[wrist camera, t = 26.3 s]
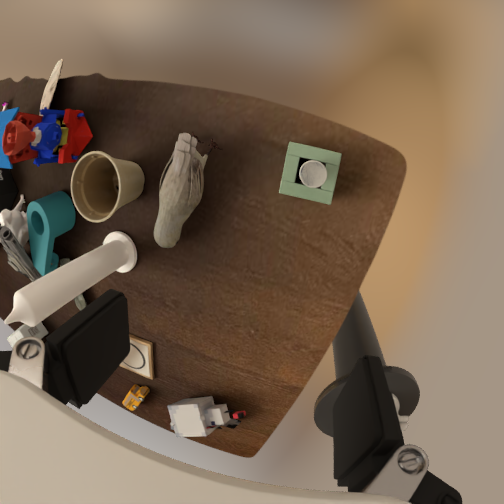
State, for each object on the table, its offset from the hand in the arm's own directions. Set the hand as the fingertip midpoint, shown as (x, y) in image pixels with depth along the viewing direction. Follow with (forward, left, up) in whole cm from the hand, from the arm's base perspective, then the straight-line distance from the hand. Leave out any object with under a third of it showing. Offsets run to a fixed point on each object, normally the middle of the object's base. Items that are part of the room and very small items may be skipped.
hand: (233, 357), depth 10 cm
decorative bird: (+14, -1, -28) cm, 32 cm away
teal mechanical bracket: (+38, +12, -25) cm, 47 cm away
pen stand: (-2, -6, -28) cm, 29 cm away
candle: (+25, +11, -28) cm, 39 cm away
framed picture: (+24, +33, -28) cm, 49 cm away
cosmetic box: (+54, +38, -24) cm, 70 cm away
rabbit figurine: (+54, +11, -28) cm, 62 cm away
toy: (+13, +41, -22) cm, 48 cm away
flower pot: (+24, -1, -28) cm, 37 cm away
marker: (-2, -7, -28) cm, 29 cm away
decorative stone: (+46, -17, -28) cm, 57 cm away
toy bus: (+21, +47, -27) cm, 58 cm away
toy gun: (+59, +14, -21) cm, 64 cm away
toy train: (+40, -8, -28) cm, 49 cm away
